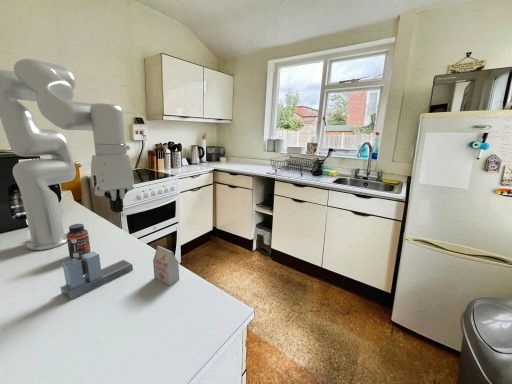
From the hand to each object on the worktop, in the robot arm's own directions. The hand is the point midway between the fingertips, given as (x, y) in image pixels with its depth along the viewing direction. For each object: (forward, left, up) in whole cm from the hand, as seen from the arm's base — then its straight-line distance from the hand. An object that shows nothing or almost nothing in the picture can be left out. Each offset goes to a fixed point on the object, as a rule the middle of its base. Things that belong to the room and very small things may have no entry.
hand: (117, 211), depth 72 cm
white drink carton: (+16, +4, -20) cm, 26 cm away
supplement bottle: (-19, -4, -19) cm, 27 cm away
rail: (+1, -8, -19) cm, 21 cm away
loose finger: (+1, -9, -17) cm, 20 cm away
